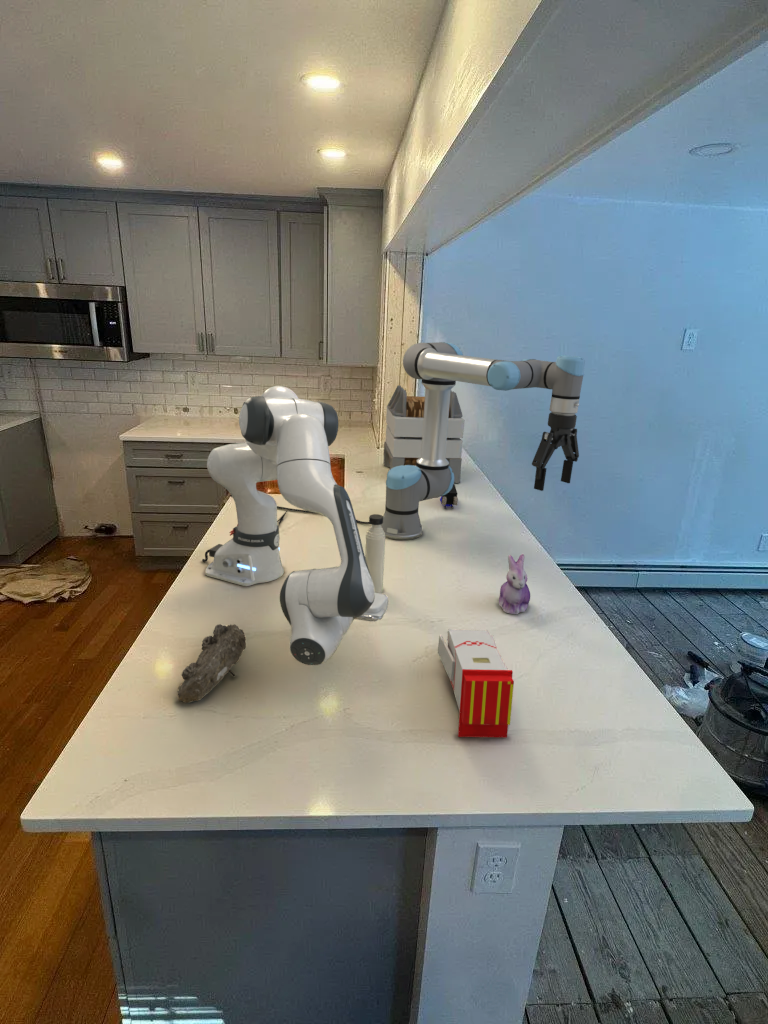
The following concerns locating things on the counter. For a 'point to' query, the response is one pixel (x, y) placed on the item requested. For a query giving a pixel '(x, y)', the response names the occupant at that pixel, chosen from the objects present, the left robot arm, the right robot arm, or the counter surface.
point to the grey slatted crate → (419, 431)
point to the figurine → (515, 588)
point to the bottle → (375, 555)
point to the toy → (478, 682)
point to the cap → (376, 519)
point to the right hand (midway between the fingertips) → (552, 485)
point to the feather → (281, 518)
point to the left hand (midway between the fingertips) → (352, 585)
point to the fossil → (212, 662)
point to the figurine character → (450, 498)
